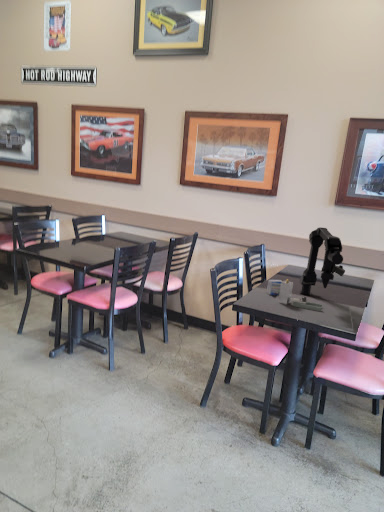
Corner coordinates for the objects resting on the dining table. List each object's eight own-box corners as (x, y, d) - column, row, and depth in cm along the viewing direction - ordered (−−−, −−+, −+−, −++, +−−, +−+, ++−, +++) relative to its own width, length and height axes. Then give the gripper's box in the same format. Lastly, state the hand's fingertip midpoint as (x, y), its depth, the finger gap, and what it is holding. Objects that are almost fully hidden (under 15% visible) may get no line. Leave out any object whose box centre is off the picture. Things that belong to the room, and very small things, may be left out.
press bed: (277, 296, 224) (278, 291, 223) (321, 304, 216) (322, 299, 215) (274, 305, 208) (274, 299, 207) (320, 314, 200) (321, 308, 199)
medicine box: (269, 295, 225) (271, 281, 223) (266, 292, 229) (268, 279, 227) (281, 295, 227) (283, 281, 226) (277, 292, 232) (279, 279, 230)
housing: (282, 300, 213) (285, 277, 210) (290, 302, 210) (293, 279, 207) (278, 302, 209) (281, 279, 206) (286, 304, 206) (289, 281, 204)
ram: (291, 302, 210) (292, 294, 209) (305, 305, 208) (307, 296, 207) (290, 304, 207) (291, 296, 206) (305, 307, 204) (306, 298, 203)
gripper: (346, 266, 188) (341, 295, 192) (344, 259, 205) (340, 286, 209) (323, 262, 192) (318, 291, 195) (323, 256, 209) (319, 283, 212)
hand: (324, 288), depth 203 cm, fingers closed
